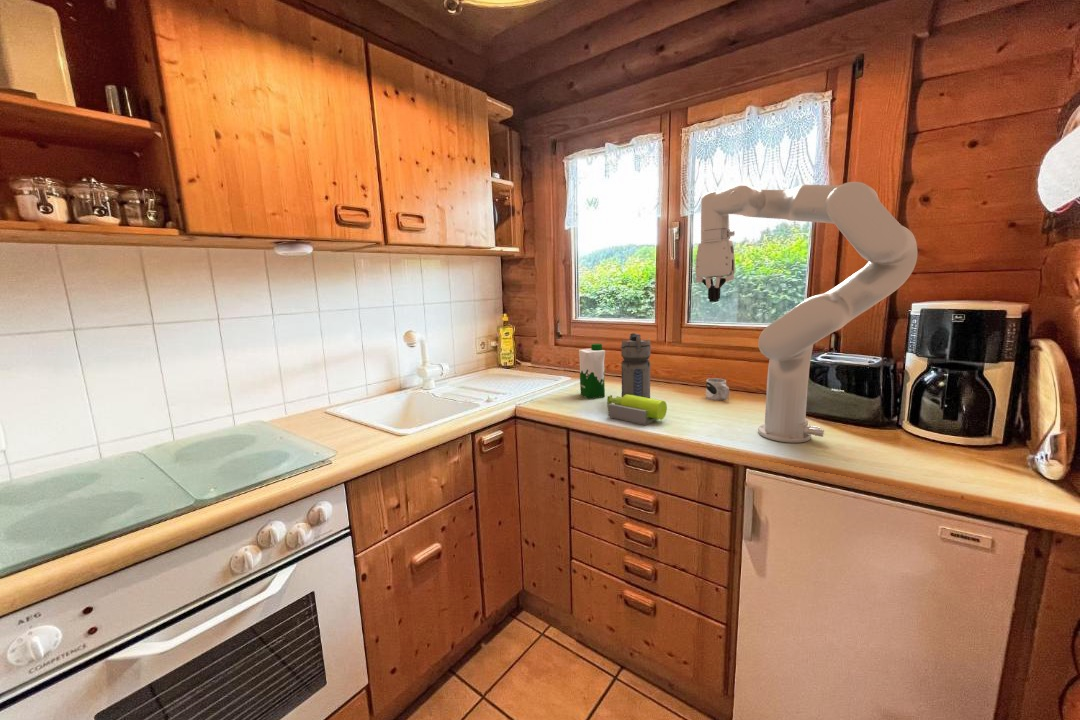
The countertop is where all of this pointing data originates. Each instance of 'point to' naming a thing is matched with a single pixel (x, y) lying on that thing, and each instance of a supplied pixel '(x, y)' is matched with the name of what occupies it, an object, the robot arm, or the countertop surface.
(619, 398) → the soap dispenser
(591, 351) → the soya milk
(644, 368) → the beverage bottle
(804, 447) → the countertop surface
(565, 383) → the countertop surface
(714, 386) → the mug
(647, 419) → the cradle
